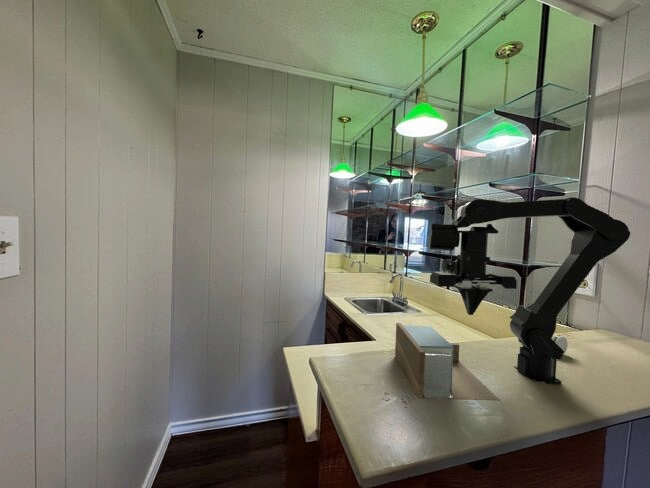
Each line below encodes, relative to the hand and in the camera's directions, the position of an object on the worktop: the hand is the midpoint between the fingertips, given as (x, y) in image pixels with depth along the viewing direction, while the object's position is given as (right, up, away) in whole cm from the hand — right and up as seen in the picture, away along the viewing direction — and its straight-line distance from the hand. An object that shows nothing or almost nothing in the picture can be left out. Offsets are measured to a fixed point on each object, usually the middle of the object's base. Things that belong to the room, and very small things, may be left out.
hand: (470, 314), depth 65 cm
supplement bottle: (+30, -11, +7) cm, 32 cm away
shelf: (-10, -13, -5) cm, 17 cm away
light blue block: (-13, -12, -5) cm, 19 cm away
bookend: (-14, -13, -13) cm, 23 cm away
